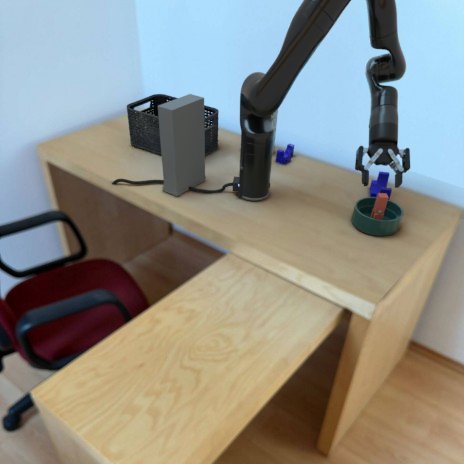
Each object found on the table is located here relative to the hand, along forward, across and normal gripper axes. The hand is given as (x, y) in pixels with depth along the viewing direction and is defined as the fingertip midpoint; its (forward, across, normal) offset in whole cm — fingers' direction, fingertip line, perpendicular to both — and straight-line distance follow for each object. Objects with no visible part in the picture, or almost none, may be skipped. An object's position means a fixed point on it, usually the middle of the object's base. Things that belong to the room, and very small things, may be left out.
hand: (381, 186), depth 118 cm
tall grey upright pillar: (-4, -56, +19) cm, 59 cm away
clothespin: (+9, 0, +5) cm, 10 cm away
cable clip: (-2, +4, +17) cm, 17 cm away
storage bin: (-25, -62, +40) cm, 78 cm away
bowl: (+9, 0, +6) cm, 11 cm away
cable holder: (-20, -22, +35) cm, 46 cm away
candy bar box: (-24, -32, +39) cm, 56 cm away
